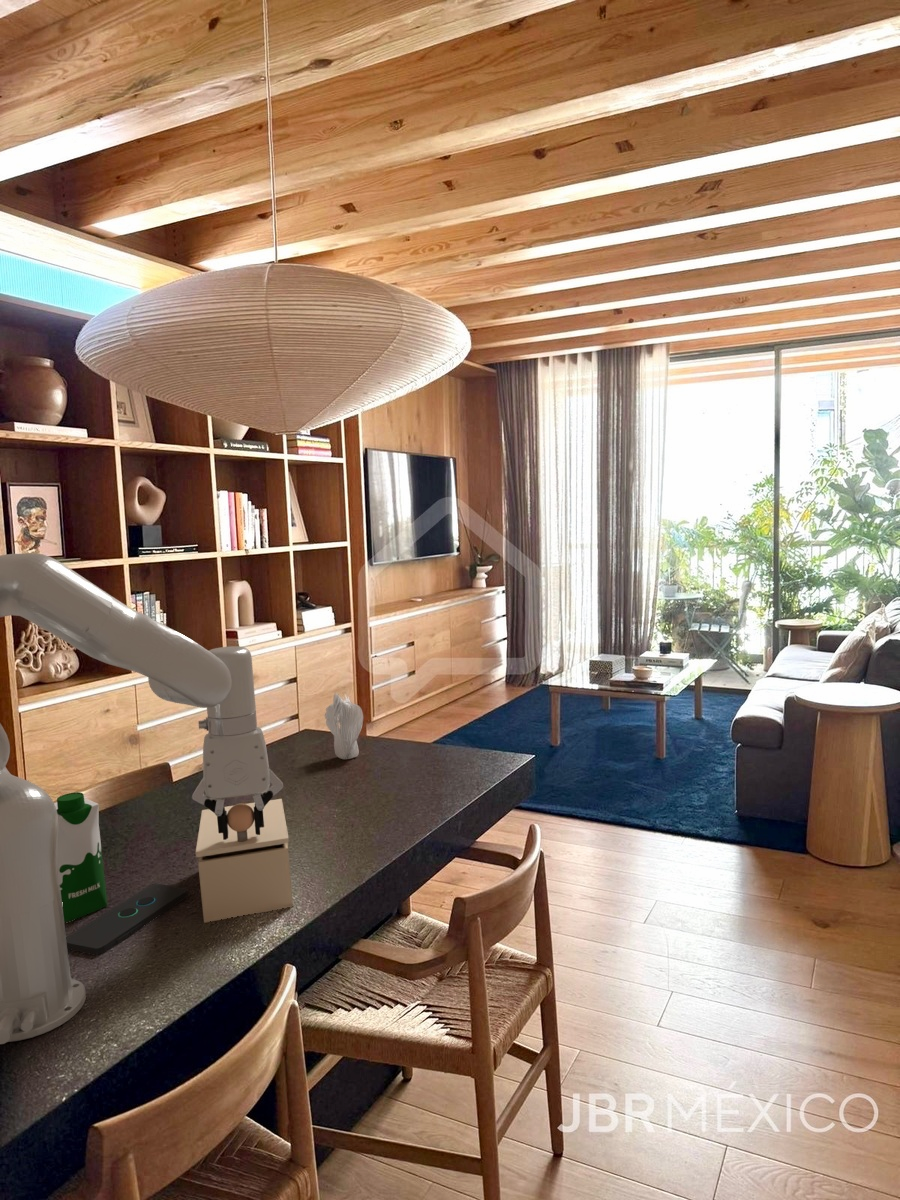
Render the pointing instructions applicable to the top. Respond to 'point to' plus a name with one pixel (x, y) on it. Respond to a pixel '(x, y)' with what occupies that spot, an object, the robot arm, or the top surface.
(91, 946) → the smart home device
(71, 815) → the milk carton
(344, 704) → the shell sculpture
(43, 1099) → the top surface
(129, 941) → the top surface
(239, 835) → the lid flap
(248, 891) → the carton
